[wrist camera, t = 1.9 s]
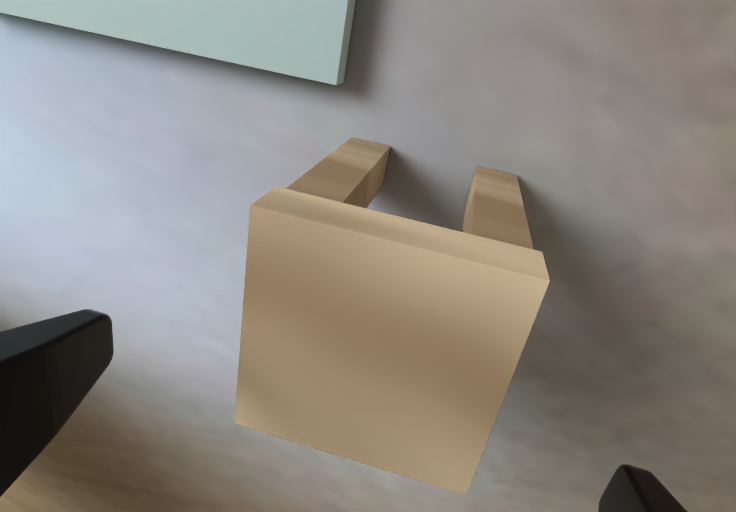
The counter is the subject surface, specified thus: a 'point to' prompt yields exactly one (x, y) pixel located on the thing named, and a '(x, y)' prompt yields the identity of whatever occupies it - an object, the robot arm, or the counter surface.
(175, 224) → the counter surface
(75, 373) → the robot arm
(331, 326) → the stool
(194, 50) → the board
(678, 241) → the counter surface
